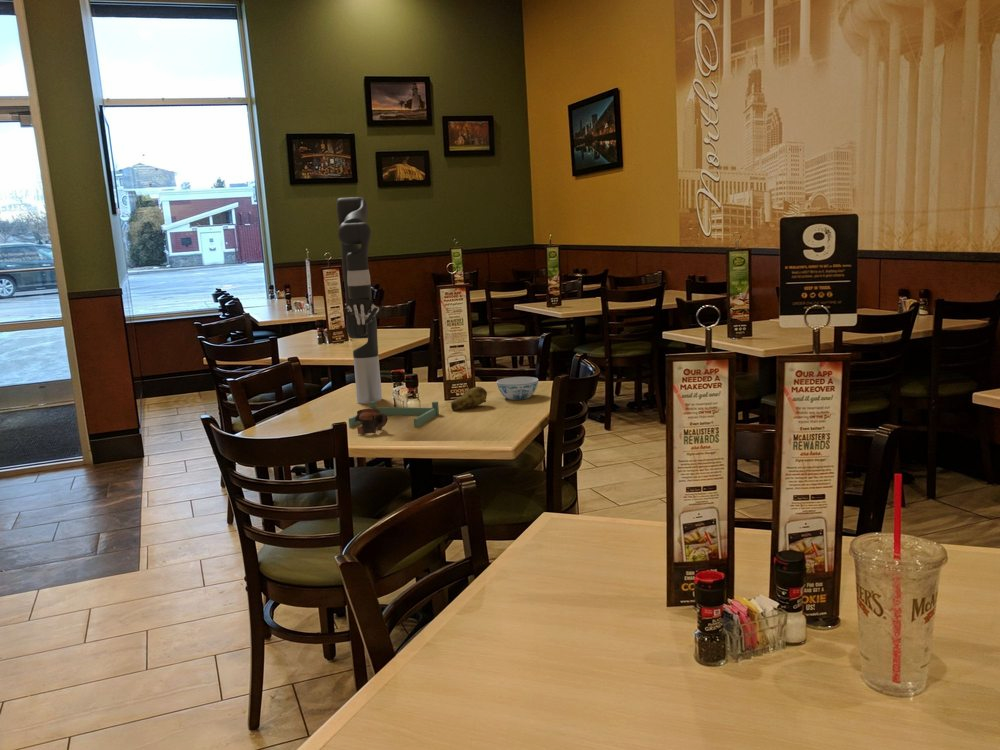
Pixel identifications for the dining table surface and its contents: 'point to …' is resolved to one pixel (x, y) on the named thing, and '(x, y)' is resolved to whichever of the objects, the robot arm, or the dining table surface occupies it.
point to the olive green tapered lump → (469, 399)
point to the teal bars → (404, 413)
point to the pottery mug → (370, 420)
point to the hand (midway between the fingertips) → (363, 335)
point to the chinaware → (517, 387)
